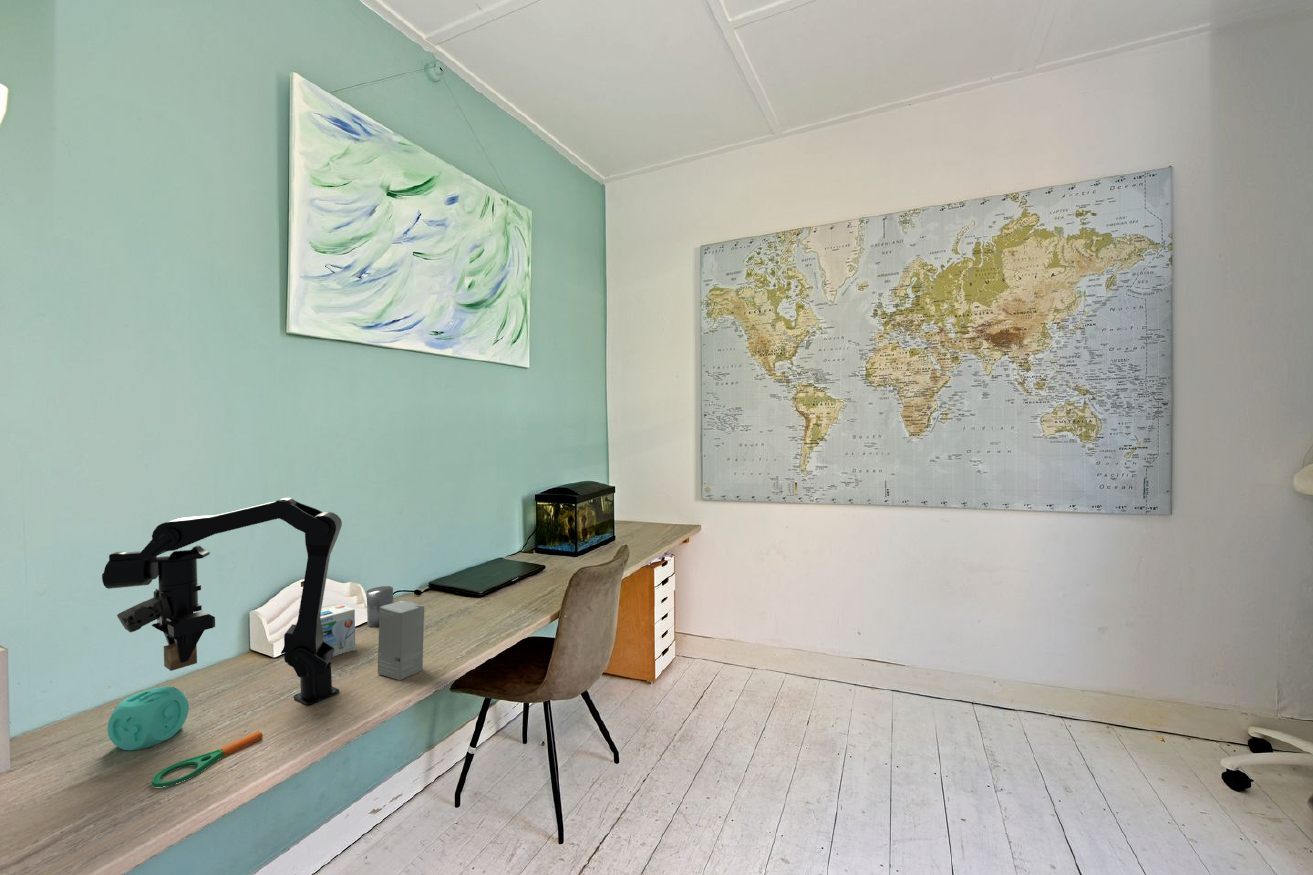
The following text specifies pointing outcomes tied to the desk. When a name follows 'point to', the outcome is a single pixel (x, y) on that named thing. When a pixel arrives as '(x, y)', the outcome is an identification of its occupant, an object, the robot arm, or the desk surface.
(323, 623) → the light bulb box
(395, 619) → the skincare box
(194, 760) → the magnifying glass
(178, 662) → the walnut cube
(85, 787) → the desk surface
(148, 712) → the decorative dice
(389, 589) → the grey rounded block
